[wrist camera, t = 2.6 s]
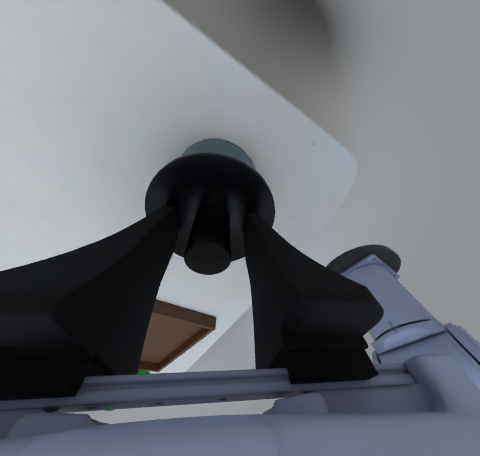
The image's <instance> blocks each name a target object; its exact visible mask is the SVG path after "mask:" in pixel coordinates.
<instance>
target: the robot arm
mask: <svg viewBox="0 0 480 456" xmlns="http://www.w3.org/2000/svg"><path fill="white" fill-rule="evenodd" d="M177 238H178V227H177V217H176V207H175V206H163V207H161V208H159V209H158V210H156V211H154V212H153V213H151V214H150V215H148V216H146V217H145V218H143V219H141V220H140V221H138V222H136V223H134V224H133V225H131V226H129V227H127V228H125V229H123V230H121V231H119V232H117V233H115V234H113V235H111V236H109V237H106V238H104V239H102V240H100V241H97V242H95V243H92V244H89V245H86V246H84V247H81V248H78V249H76V250H73V251H70V252H67V253H64V254H61V255H58V256H55V257H51V258H48V259H45V260H41V261H38V262H34V263H31V264H27V265H24V266H20V267H16V268H12V269H8V270H4V271H0V456H480V343H479V342H478V341H477V340H476V339H474V338H473V337H472V336H471V335H470V334H469V333H468V332H467V331H466V330H465V329H463V328H462V327H460V326H456V325H453V324H451V323H448V324H445V326H444V325H443V324H442V323H440V322H439V321H438V320H436V319H435V318H434V317H433V316H432V315H431V314H430V313H429V312H428V311H427V310H426V309H425V308H424V307H423V306H422V305H421V304H420V303H419V301H418V300H417V299H416V298H415V297H414V296H413V295H412V294H411V293H410V292H409V291H408V290H407V289H406V288H405V287H403V285H402V284H401V283H400V282H399V281H398V280H397V279H399V278H400V276H399V275H398V274H397V273H396V272H395V271H393V270H392V269H391V268H390V267H389V266H387V265H386V264H385V263H384V262H383V261H382V260H380V259H379V258H378V257H377V256H376V255H374V254H370V255H368V256H366V257H365V258H363V259H362V260H360V261H359V262H357V263H355V264H354V265H352V266H351V267H349V268H348V269H346V270H345V271H343V272H341V273H340V274H338V273H336V272H334V271H332V270H330V269H328V268H326V267H324V266H323V265H321V264H319V263H317V262H316V261H314V260H312V259H311V258H309V257H308V256H306V255H304V254H303V253H301V252H300V251H299V250H297V249H296V248H295V247H293V246H292V245H291V244H289V243H288V242H287V241H286V240H285V239H283V238H282V237H281V236H280V235H279V234H278V233H277V232H276V231H275V230H274V229H273V228H272V227H271V226H270V225H269V224H268V223H267V222H266V221H265V220H264V219H263V218H262V217H261V216H260V215H259V214H258V213H252V212H248V216H247V221H246V227H245V233H244V253H245V258H246V264H247V269H248V274H249V279H250V285H251V295H252V307H253V321H254V339H255V362H256V369H252V370H229V371H207V372H183V373H160V374H137V373H138V368H139V364H140V359H141V355H142V351H143V346H144V342H145V338H146V334H147V330H148V326H149V322H150V318H151V314H152V311H153V307H154V303H155V300H156V296H157V293H158V290H159V286H160V283H161V281H162V278H163V276H164V273H165V271H166V269H167V266H168V264H169V261H170V259H171V256H172V254H173V252H174V249H175V246H176V242H177ZM367 332H369V333H370V335H371V336H372V338H373V340H374V341H375V342H373V343H371V344H372V346H373V348H374V349H375V351H373V353H372V358H373V359H372V362H373V363H372V362H371V360H370V358H369V356H368V355H367V353H366V351H365V349H367V348H368V344H367V343H366V341H365V339H364V338H363V335H365V334H366V333H367ZM275 398H283V399H279V400H275V402H274V406H273V407H272V408H271V409H269V410H267V411H266V412H264V413H263V414H256V415H255V414H252V415H219V416H201V417H186V418H185V417H184V418H172V419H159V420H148V421H138V422H128V423H119V424H107V423H102V422H98V421H96V420H93V419H91V417H90V416H89V415H88V414H68V413H66V412H81V411H96V410H111V409H126V408H141V407H155V406H169V405H185V404H199V403H215V402H230V401H244V400H260V399H275Z"/></svg>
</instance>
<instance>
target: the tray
mask: <svg viewBox="0 0 480 456" xmlns="http://www.w3.org/2000/svg"><path fill="white" fill-rule="evenodd" d="M215 327H216V317H212V316H209V315H205V314H202V313H199V312H195V311H192V310H189V309H185V308H182V307H178V306H175V305H172V304H168V303H165V302H161V301H158V300H155V303H154V307H153V311H152V314H151V318H150V322H149V326H148V330H147V334H146V338H145V342H144V346H143V351H142V355H141V359H140V364H139V368H138V370H146V371H154V372H159V371H161V370H162V369H163V368H165V367H166V366H167V365H168V364H170V363H171V362H172V361H174V360H175V359H176V358H178V357H179V356H180V355H182V354H183V353H184V352H186V351H187V350H188V349H190V348H191V347H192V346H194V345H195V344H196V343H197V342H199V341H200V340H201V339H203V338H204V337H205V336H207V335H208V334H209V333H211V332H212V331H213V330H215Z"/></svg>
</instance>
